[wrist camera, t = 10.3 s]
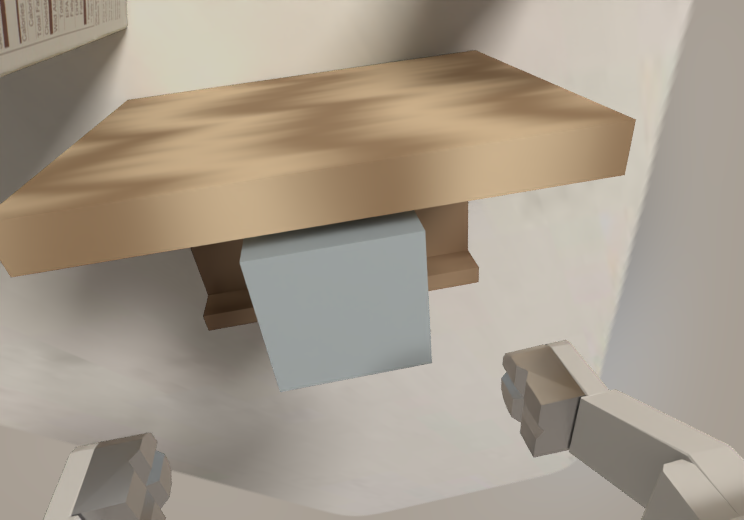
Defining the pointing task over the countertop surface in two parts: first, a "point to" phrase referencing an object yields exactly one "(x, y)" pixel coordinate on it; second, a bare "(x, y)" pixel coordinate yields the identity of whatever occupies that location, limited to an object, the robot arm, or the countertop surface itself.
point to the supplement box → (53, 28)
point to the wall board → (308, 167)
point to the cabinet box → (341, 298)
